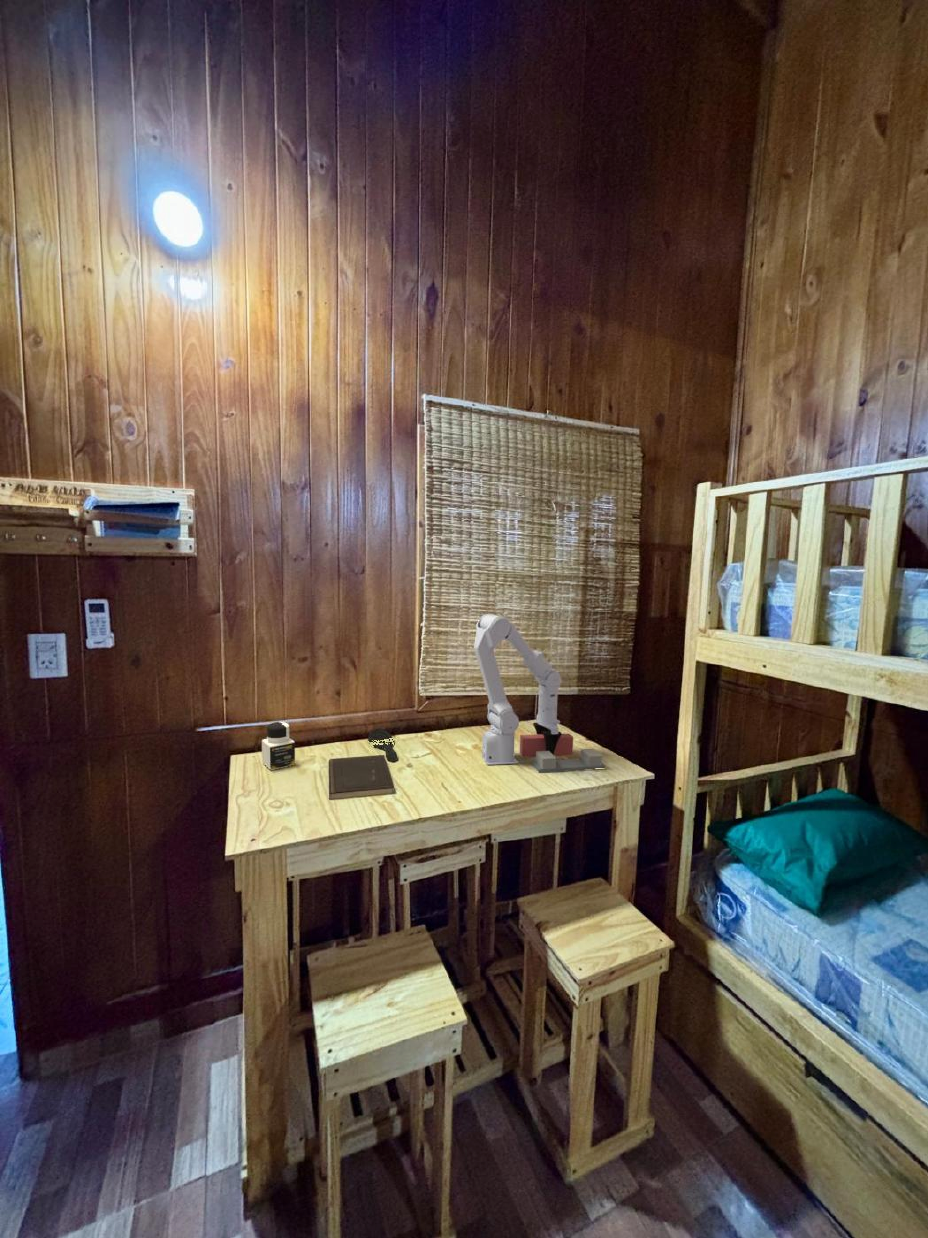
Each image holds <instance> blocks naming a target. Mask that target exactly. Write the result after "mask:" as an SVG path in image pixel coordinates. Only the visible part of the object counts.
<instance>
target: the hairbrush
mask: <svg viewBox="0 0 928 1238" xmlns="http://www.w3.org/2000/svg"><path fill="white" fill-rule="evenodd" d="M368 732H369V733H368V737H367V742H368V741H369V742H373V741H371V740H377V741H378V740H379V741H380V740H384V739H389V738H393V736H392V734H390V732H388V730H386V729H385V728H382V727H380V726H379V727H377V728H376V727H374V728H373V729H370V730H369V731H368ZM393 739H394V738H393ZM393 739H392V740H393ZM389 741H390V739H389ZM374 742H376V741H374ZM374 742H373V743H374ZM383 742H385V741H383ZM383 742H382V741H381V743H383ZM376 743H377V742H376ZM379 743H380V742H379ZM386 743H387V742H386ZM389 743H390V742H388V745H387V744H383V745H379V744H378V745H376V744H375V745H373V746H374V747H376V748H379V749H380V750H382V749H383V750H384V751H385V759H386V761H387V762H388V761H389V763H397V761H398V758H399V757H398V755H397V751H396V750H395V749H394V748H393V747H394V746H393V744H392V743H391V744H389ZM392 746H393V747H392ZM374 747H373V748H374ZM376 748H375V749H376ZM379 749H378V750H379Z"/></svg>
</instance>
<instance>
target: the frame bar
mask: <svg viewBox="0 0 928 1238" xmlns="http://www.w3.org/2000/svg"><path fill="white" fill-rule="evenodd" d="M573 749H574V736H573V735H572V734H571V733H562V735H561V737H560V738H559V740H558V742H557V745H556V748H555V752H554V754H553V755H554V756H555V757H557V756H558V757H559V756H560V757H563V756H565V757H567V756H573V753H574V751H573ZM536 751H546V745H545V739H544V736H543V734H537V733H536V734H520V735H519V754H520V756H521V757H522V758H529V757H531V758H533V757H534V758H536Z"/></svg>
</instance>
